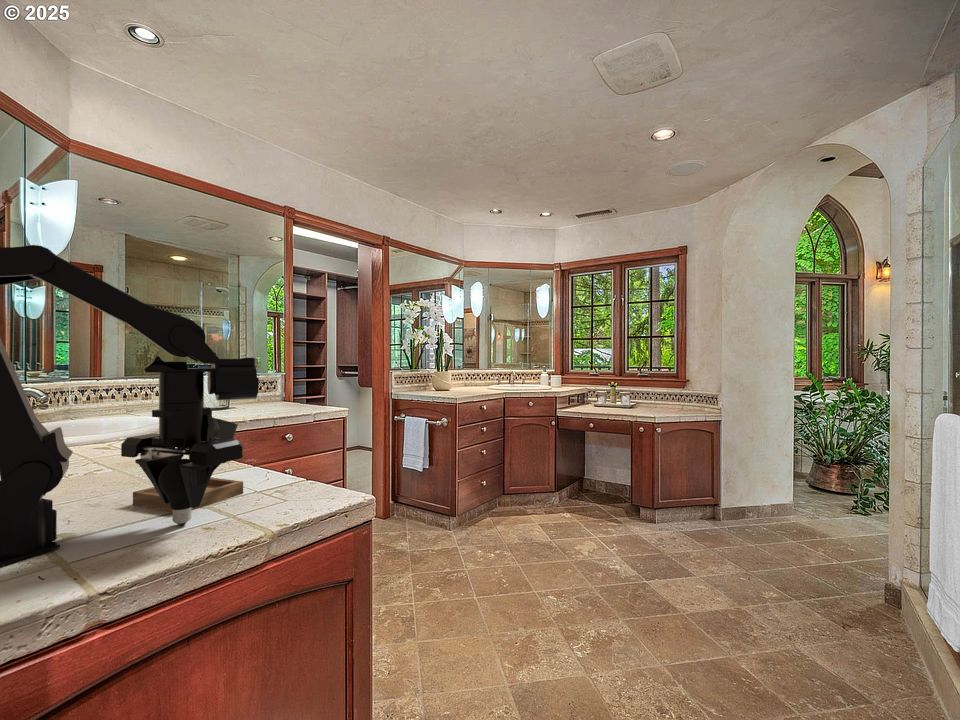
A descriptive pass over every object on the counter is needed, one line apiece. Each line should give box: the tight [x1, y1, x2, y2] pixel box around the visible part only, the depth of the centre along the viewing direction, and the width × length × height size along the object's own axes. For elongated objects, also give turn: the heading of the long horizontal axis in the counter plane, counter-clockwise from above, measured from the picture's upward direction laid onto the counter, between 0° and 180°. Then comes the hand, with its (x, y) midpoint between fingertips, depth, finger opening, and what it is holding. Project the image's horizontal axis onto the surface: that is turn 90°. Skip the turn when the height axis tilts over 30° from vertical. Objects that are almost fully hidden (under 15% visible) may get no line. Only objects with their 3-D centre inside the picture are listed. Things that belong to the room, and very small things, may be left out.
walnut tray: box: [132, 477, 244, 512], centre depth 84 cm, size 12×12×2 cm
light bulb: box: [158, 458, 192, 526], centre depth 71 cm, size 6×6×10 cm
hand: (181, 505), depth 71 cm, fingers closed on light bulb, 5 cm apart
